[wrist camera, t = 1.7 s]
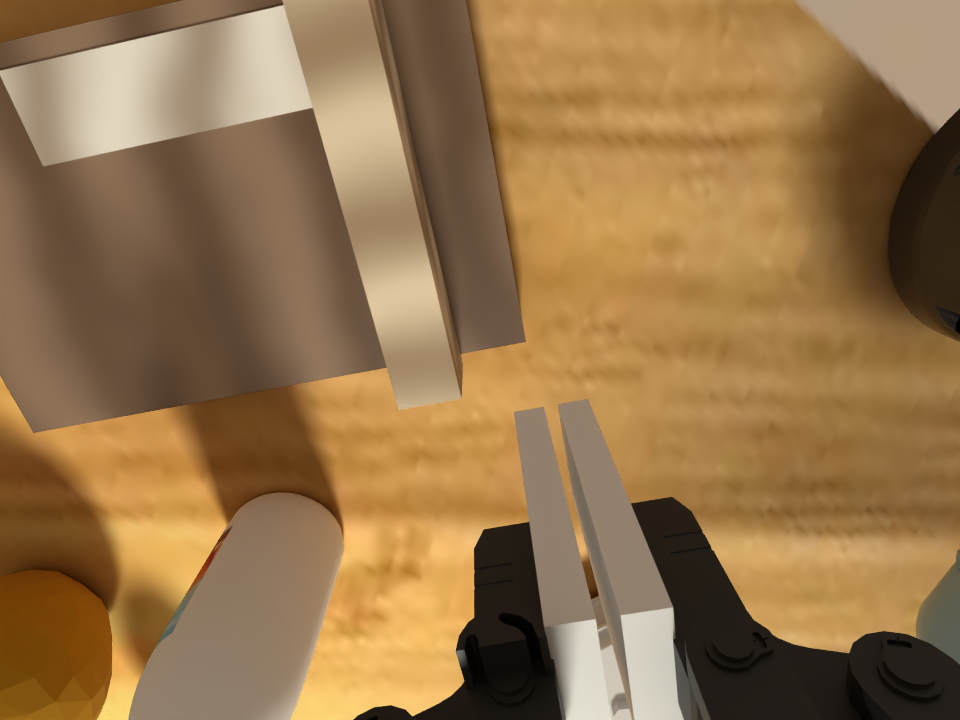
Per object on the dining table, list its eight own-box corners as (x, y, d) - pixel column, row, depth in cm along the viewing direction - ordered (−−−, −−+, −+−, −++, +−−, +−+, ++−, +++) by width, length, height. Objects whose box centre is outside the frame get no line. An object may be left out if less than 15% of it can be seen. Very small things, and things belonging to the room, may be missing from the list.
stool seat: (456, -45, 26) (454, -65, 23) (521, 322, 33) (526, 342, 30) (-107, 86, 28) (-174, 82, 25) (69, 407, 34) (32, 433, 32)
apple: (158, 556, 39) (42, 717, 29) (153, 682, 44) (52, 859, 33) (-40, 519, 38) (-239, 675, 27) (-23, 654, 43) (-186, 829, 32)
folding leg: (310, 12, 24) (280, -8, 20) (379, -4, 23) (362, -27, 20) (408, 374, 30) (398, 409, 27) (462, 364, 30) (461, 398, 26)
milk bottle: (274, 467, 36) (70, 823, 18) (369, 531, 38) (274, 909, 20) (209, 538, 39) (-31, 921, 20) (303, 595, 41) (162, 989, 22)
